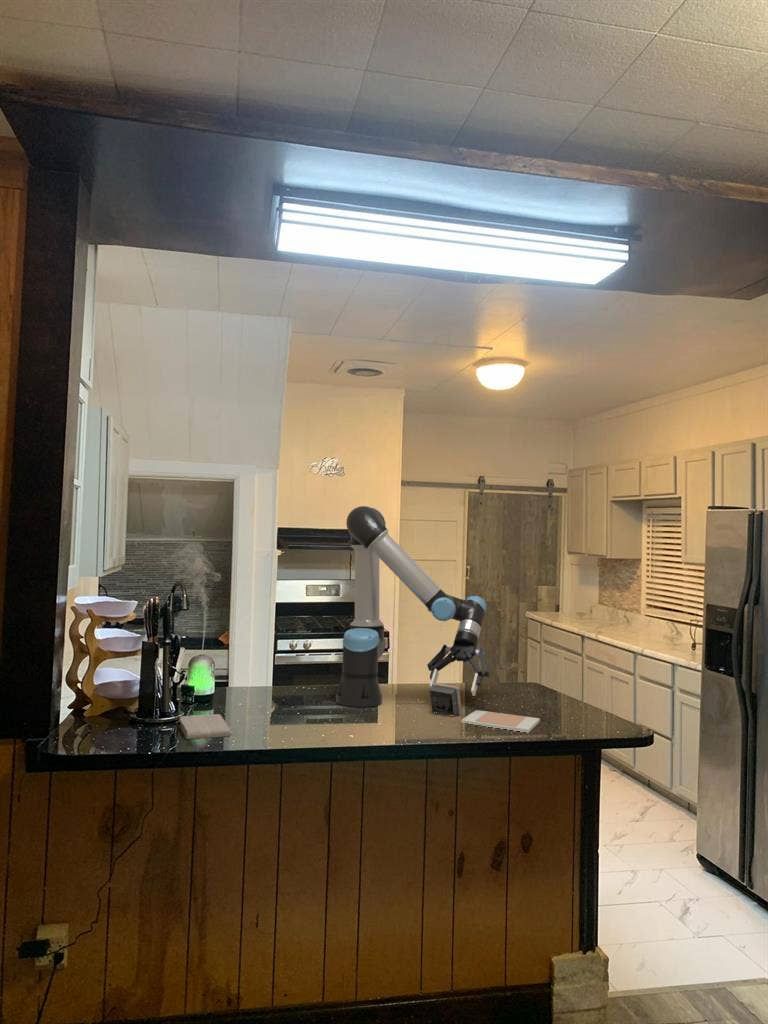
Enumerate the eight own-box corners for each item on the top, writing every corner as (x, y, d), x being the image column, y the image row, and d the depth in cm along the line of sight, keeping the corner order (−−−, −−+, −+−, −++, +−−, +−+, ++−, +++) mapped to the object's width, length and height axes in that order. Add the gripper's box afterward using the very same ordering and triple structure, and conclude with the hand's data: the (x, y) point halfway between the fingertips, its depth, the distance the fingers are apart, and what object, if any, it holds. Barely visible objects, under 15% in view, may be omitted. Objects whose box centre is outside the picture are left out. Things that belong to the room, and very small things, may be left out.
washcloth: (219, 721, 206) (220, 711, 206) (232, 738, 190) (233, 726, 190) (177, 724, 202) (177, 713, 202) (186, 742, 185) (187, 730, 185)
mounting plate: (461, 723, 212) (461, 719, 212) (476, 713, 225) (476, 709, 225) (528, 733, 203) (528, 728, 203) (539, 721, 217) (539, 717, 217)
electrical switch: (462, 715, 223) (461, 685, 222) (454, 719, 218) (453, 689, 218) (435, 710, 228) (435, 681, 227) (427, 715, 223) (427, 685, 223)
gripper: (505, 647, 236) (492, 702, 221) (434, 640, 246) (417, 693, 231) (502, 632, 231) (488, 688, 217) (429, 626, 241) (412, 679, 227)
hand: (451, 690), depth 224 cm, fingers open, 13 cm apart
